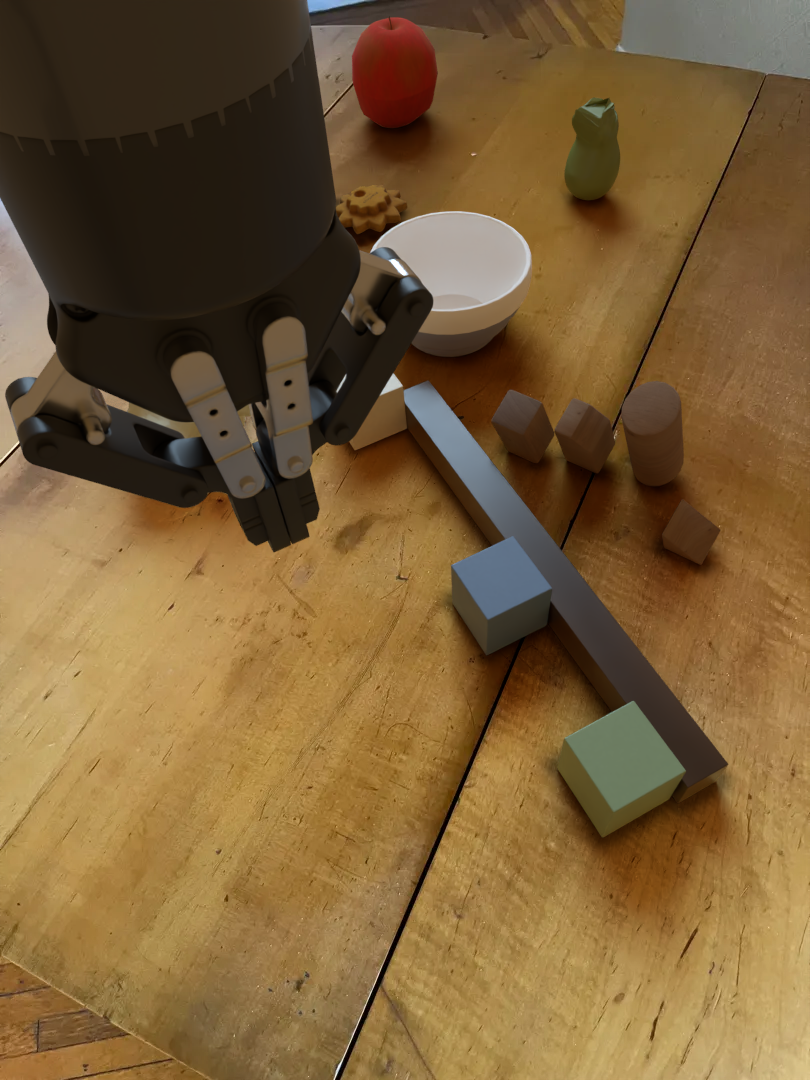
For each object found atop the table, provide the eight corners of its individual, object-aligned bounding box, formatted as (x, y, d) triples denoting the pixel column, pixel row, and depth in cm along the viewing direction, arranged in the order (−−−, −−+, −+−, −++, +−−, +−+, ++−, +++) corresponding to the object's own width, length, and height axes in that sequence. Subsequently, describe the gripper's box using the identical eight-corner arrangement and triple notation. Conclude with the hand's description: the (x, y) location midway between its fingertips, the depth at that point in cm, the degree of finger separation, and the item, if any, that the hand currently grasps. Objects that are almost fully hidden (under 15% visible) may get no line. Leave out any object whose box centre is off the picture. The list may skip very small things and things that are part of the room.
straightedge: (677, 804, 50) (688, 787, 48) (399, 417, 71) (397, 392, 68) (716, 781, 51) (729, 764, 49) (429, 405, 72) (428, 379, 69)
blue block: (486, 656, 57) (487, 620, 53) (451, 602, 60) (450, 564, 56) (547, 625, 58) (553, 588, 54) (510, 574, 61) (513, 535, 57)
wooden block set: (499, 476, 69) (468, 427, 60) (550, 390, 70) (526, 328, 61) (701, 571, 62) (701, 532, 52) (755, 473, 62) (764, 418, 53)
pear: (624, 196, 88) (640, 102, 79) (588, 216, 86) (600, 122, 78) (587, 175, 90) (598, 82, 82) (551, 194, 89) (560, 100, 81)
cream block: (354, 451, 69) (347, 408, 65) (330, 414, 72) (322, 371, 68) (407, 428, 70) (403, 386, 66) (381, 393, 73) (376, 350, 69)
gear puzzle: (401, 179, 92) (398, 144, 89) (417, 266, 83) (415, 231, 80) (127, 212, 92) (114, 178, 89) (112, 303, 83) (97, 269, 79)
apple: (410, 149, 96) (403, 43, 87) (340, 129, 99) (326, 26, 90) (453, 108, 101) (451, 4, 91) (385, 92, 104) (376, -10, 95)
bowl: (361, 294, 81) (353, 225, 75) (503, 267, 82) (506, 198, 76) (390, 394, 73) (383, 327, 66) (548, 363, 74) (555, 294, 67)
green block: (602, 838, 49) (613, 813, 45) (556, 767, 52) (563, 737, 48) (669, 799, 51) (687, 771, 46) (621, 731, 53) (633, 699, 49)
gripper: (-206, 223, 13) (143, 686, 27) (499, 8, 16) (485, 528, 30) (-224, 46, 17) (88, 529, 31) (342, -100, 20) (394, 402, 34)
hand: (283, 528), depth 31 cm, fingers closed
